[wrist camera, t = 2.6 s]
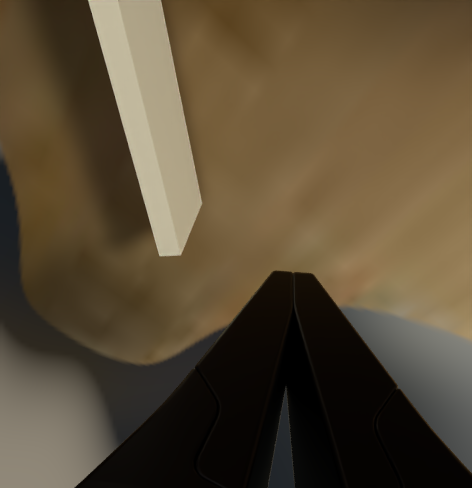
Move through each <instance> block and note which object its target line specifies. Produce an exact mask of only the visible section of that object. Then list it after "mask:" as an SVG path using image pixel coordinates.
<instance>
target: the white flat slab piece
mask: <svg viewBox="0 0 472 488" xmlns="http://www.w3.org/2000/svg"><path fill="white" fill-rule="evenodd" d="M88 1H89V5H90V9H91V12H92V16H93V19H94V23H95V26H96V30H97V34H98V37H99V41H100V44H101V48H102V52H103V55H104V59H105V62H106V66H107V70H108V73H109V77H110V80H111V84H112V88H113V91H114V95H115V98H116V102H117V105H118V109H119V113H120V116H121V120H122V123H123V127H124V131H125V134H126V138H127V141H128V145H129V149H130V152H131V156H132V159H133V163H134V166H135V170H136V174H137V177H138V181H139V184H140V188H141V192H142V195H143V199H144V202H145V206H146V210H147V213H148V217H149V220H150V224H151V228H152V231H153V235H154V238H155V242H156V245H157V249H158V253H159V256H174V255H181V254H182V251H183V249H184V246H185V244H186V241H187V239H188V236H189V234H190V232H191V229H192V227H193V224H194V222H195V219H196V217H197V215H198V212H199V210H200V207H201V205H202V201H201V196H200V191H199V186H198V181H197V176H196V171H195V166H194V161H193V156H192V151H191V146H190V141H189V136H188V132H187V127H186V122H185V117H184V112H183V107H182V102H181V97H180V92H179V87H178V82H177V77H176V72H175V67H174V63H173V58H172V53H171V48H170V43H169V38H168V33H167V28H166V23H165V18H164V13H163V8H162V3H161V0H88Z"/></svg>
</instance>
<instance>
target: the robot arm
mask: <svg viewBox="0 0 472 488" xmlns="http://www.w3.org/2000/svg"><path fill="white" fill-rule="evenodd" d="M285 388H286V390H287V403H288V414H289V425H290V437H291V449H292V461H293V472H294V485H295V488H472V473H471V472H470V471H469V470H468V469H467V468H466V467H465V466H464V464H463V463H462V462H461V461H460V460H459V459H458V458H457V457H456V456H455V454H454V453H453V452H452V451H451V450H450V449H449V448H448V447H447V445H446V444H445V443H444V442H443V441H442V440H441V439H440V438H439V436H438V435H437V434H436V433H435V432H434V431H433V430H432V428H431V427H430V426H429V425H428V423H427V422H426V421H425V420H424V418H423V417H422V416H421V415H420V414H419V412H418V411H417V410H416V408H415V407H414V406H413V405H412V403H411V402H410V401H409V399H408V398H407V397H406V395H405V394H404V393H403V392H402V390H401V389H398V385H397V384H396V383H395V381H394V380H393V379H392V377H391V376H390V375H389V373H388V372H387V371H386V370H385V368H384V367H383V365H382V364H381V363H380V361H379V360H378V359H377V358H376V356H375V355H374V354H373V352H372V351H371V350H370V349H369V347H368V346H367V344H366V343H365V342H364V340H363V339H362V338H361V337H360V335H359V334H358V332H357V331H356V330H355V328H354V327H353V326H352V325H351V323H350V322H349V321H348V319H347V318H346V317H345V315H344V314H343V313H342V311H341V310H340V309H339V307H338V306H337V305H336V303H335V302H334V301H333V299H332V298H331V297H330V296H329V294H328V293H327V292H326V290H325V289H324V288H323V286H322V285H321V284H320V282H319V281H318V280H317V278H316V277H315V276H314V275H313V274H312V273H301V272H294V273H292V272H287V271H273V272H272V273H271V274H270V275H269V277H268V278H267V279H266V280H265V282H264V283H263V284H262V285H261V286H260V288H259V289H258V290H257V291H256V293H255V294H254V295H253V296H252V297H251V299H250V300H249V301H248V302H247V303H246V305H245V306H244V307H243V308H242V310H241V311H240V312H239V313H238V314H237V316H236V317H235V318H234V319H233V321H232V322H231V323H230V324H229V325H228V327H227V328H226V329H225V330H224V332H223V333H222V334H221V335H220V337H219V338H218V339H217V340H216V341H215V342H214V344H213V345H212V346H211V347H210V349H209V350H208V351H207V352H206V353H205V355H204V356H203V357H202V358H201V360H200V361H199V362H198V363H197V365H196V366H195V369H192V370H191V371H190V373H189V374H188V375H187V376H186V378H185V379H184V380H183V381H182V382H181V384H180V385H179V386H178V387H177V388H176V389H175V390H174V392H173V393H172V394H171V395H170V396H169V397H168V398H167V400H166V401H165V402H164V403H163V404H162V405H161V406H160V407H159V408H158V409H157V410H156V411H155V412H154V413H153V414H152V415H151V416H150V417H149V418H148V419H147V420H146V421H145V422H144V423H143V424H142V425H141V426H140V427H139V428H138V429H137V430H136V431H134V432H133V433H132V434H131V435H130V436H129V437H128V438H127V439H126V440H125V441H124V442H123V443H122V444H121V445H120V446H119V447H118V448H116V450H114V451H113V452H112V453H111V454H110V455H109V456H108V457H107V458H106V459H105V460H104V461H103V462H102V463H101V464H100V465H98V466H97V467H96V468H95V469H94V470H93V471H92V472H91V473H90V474H89V475H88V476H87V477H86V478H85V479H84V480H83V481H81V482H80V483H79V484H78V485H77V486H76V487H75V488H268V483H269V478H270V472H271V467H272V461H273V455H274V450H275V444H276V439H277V433H278V428H279V422H280V416H281V411H282V405H283V400H284V394H285Z"/></svg>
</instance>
